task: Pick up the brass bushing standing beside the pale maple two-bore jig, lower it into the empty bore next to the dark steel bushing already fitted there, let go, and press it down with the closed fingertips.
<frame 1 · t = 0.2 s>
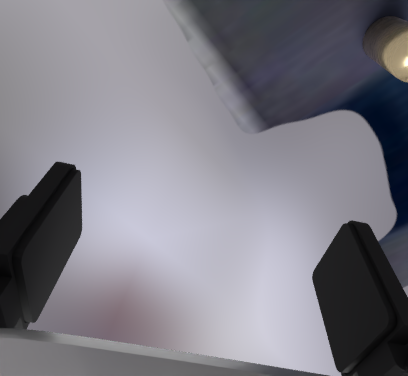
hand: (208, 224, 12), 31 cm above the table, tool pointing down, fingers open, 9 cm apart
brass bushing: (384, 38, 35), on the table
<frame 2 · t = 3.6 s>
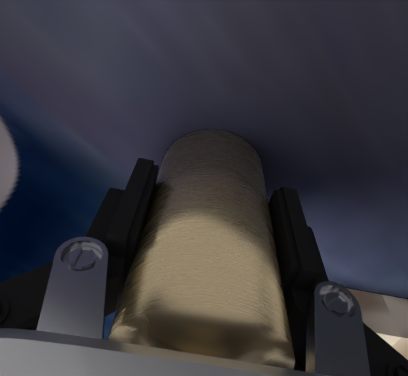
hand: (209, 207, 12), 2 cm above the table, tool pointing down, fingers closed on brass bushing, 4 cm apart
jig: (366, 349, 21), on the table
brass bushing: (211, 175, 14), on the table, touching gripper
when the fingers open (4 cm above the table, at t = 9.0 s): brass bushing drops 2 cm, resting in jig.
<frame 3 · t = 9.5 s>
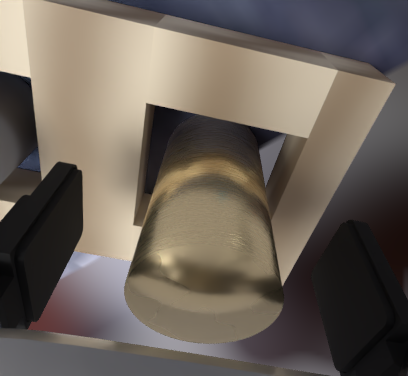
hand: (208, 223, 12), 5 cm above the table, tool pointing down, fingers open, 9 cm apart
jig: (107, 134, 15), on the table
brass bushing: (212, 156, 15), resting in jig
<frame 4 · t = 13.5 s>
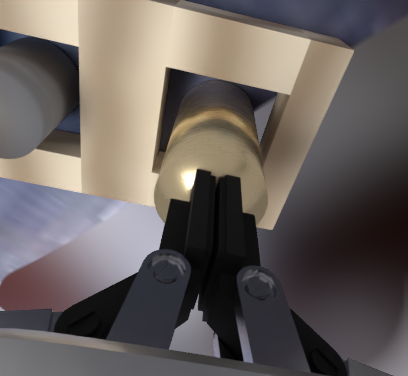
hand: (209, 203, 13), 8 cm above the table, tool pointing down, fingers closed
jig: (130, 99, 19), on the table
brass bushing: (215, 117, 19), resting in jig, touching gripper
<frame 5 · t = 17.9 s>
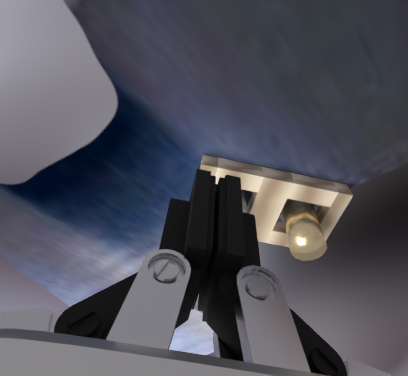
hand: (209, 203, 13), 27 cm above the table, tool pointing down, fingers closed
jig: (263, 201, 46), on the table
brass bushing: (297, 207, 47), resting in jig
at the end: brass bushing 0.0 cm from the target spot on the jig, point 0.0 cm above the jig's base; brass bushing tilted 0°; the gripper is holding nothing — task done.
